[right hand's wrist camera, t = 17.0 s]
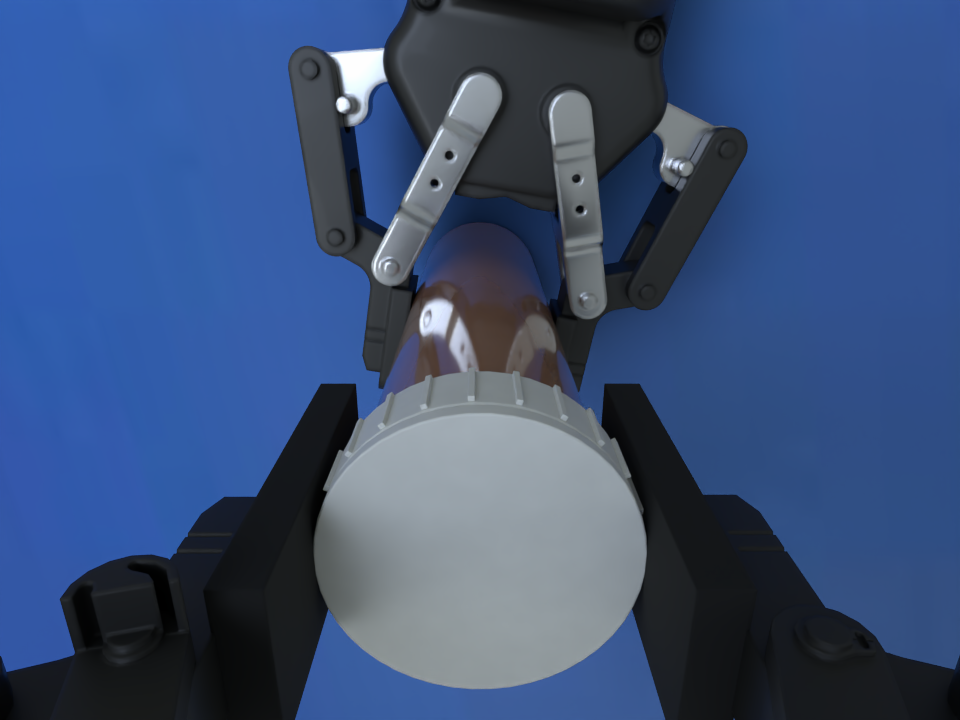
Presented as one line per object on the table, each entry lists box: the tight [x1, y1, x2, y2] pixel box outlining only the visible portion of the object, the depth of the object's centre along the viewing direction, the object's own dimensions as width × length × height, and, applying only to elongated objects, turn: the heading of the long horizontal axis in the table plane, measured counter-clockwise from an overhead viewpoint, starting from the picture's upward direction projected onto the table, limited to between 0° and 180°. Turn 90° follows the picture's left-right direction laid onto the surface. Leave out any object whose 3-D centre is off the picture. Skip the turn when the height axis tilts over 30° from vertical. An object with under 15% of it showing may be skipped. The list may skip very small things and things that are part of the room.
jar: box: [377, 222, 583, 407], centre depth 20 cm, size 5×5×18 cm
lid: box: [313, 368, 647, 689], centre depth 11 cm, size 6×6×2 cm
